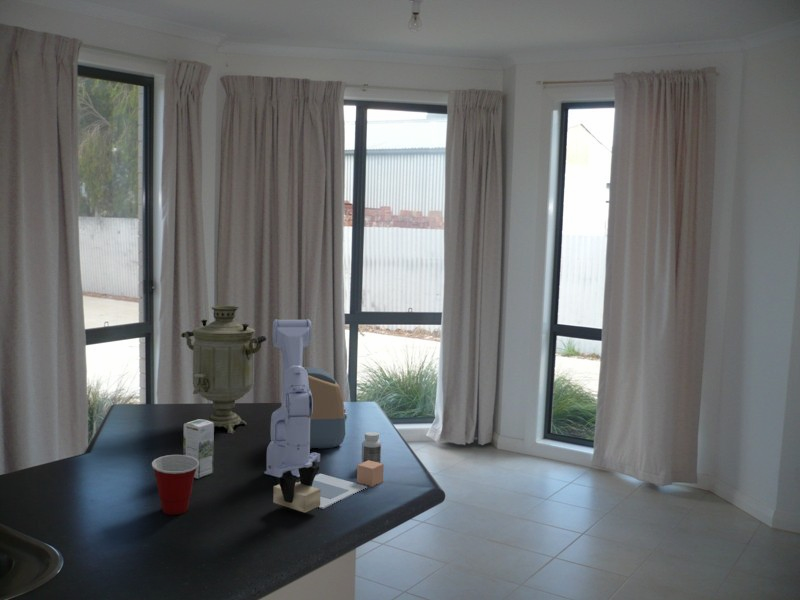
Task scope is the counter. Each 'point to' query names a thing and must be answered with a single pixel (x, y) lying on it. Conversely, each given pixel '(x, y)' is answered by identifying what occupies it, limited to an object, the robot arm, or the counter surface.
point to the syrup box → (200, 445)
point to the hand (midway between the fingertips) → (296, 497)
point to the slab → (299, 497)
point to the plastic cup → (175, 481)
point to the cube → (370, 473)
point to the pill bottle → (371, 447)
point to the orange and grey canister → (325, 410)
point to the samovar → (223, 363)
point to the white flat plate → (334, 489)
